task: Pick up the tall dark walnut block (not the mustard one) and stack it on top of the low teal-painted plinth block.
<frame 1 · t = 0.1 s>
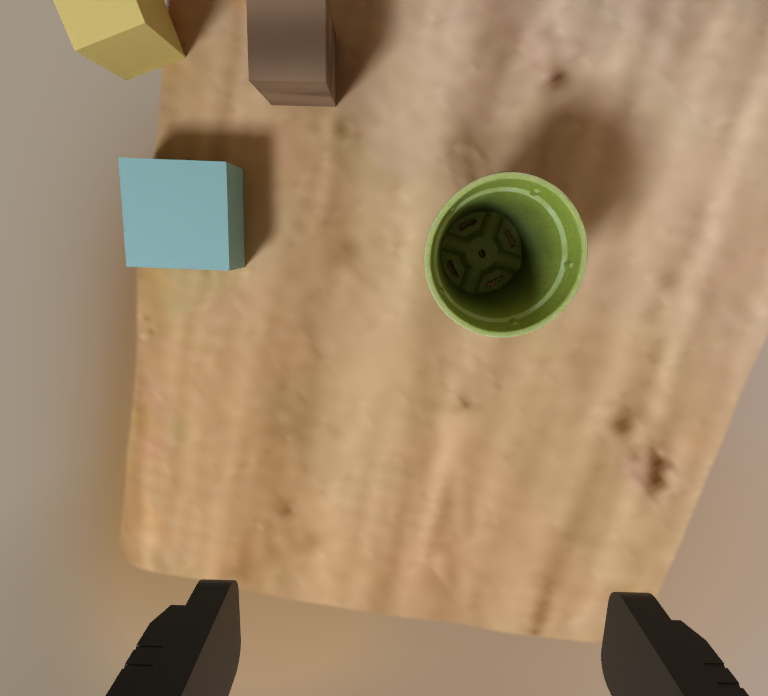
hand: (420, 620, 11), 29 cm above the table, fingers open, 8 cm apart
walnut block: (303, 70, 35), on the table
plant pot: (479, 251, 38), on the table
teal plinth block: (197, 217, 38), on the table
mustard block: (142, 34, 35), on the table
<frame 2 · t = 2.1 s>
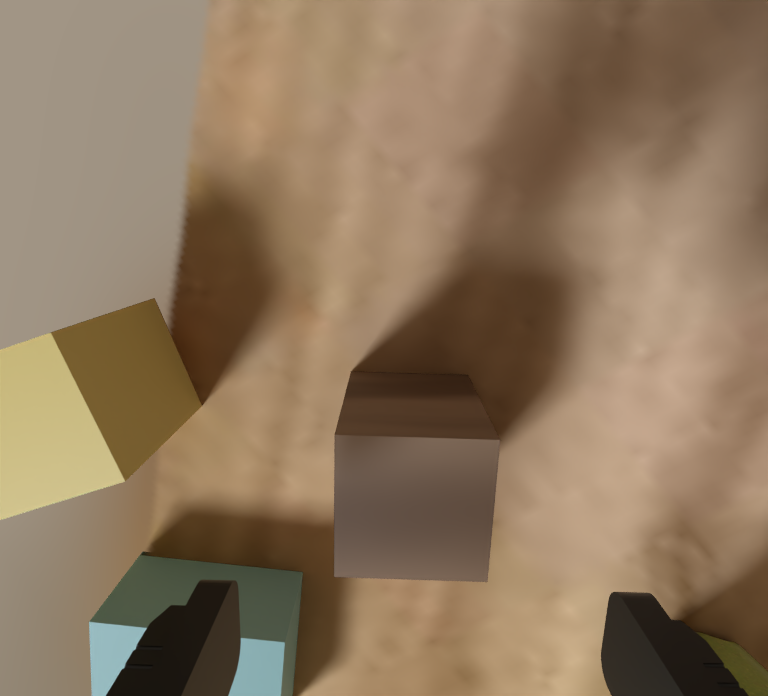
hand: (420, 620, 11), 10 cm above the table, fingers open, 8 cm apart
walnut block: (407, 427, 20), on the table
plant pot: (682, 680, 23), on the table
teal plinth block: (220, 627, 23), on the table
mustard block: (126, 370, 20), on the table
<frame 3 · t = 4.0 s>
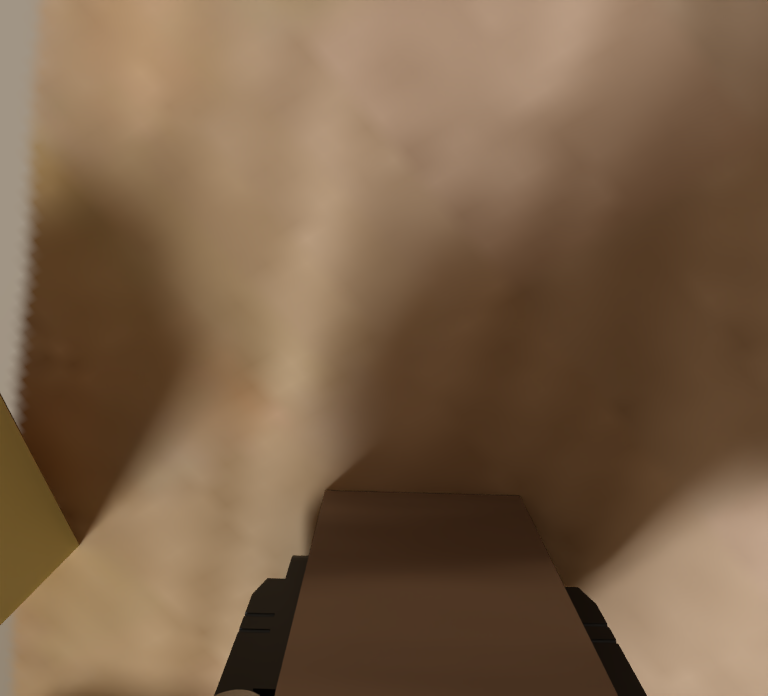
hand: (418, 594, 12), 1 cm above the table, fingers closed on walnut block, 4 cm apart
walnut block: (418, 578, 12), on the table, touching gripper
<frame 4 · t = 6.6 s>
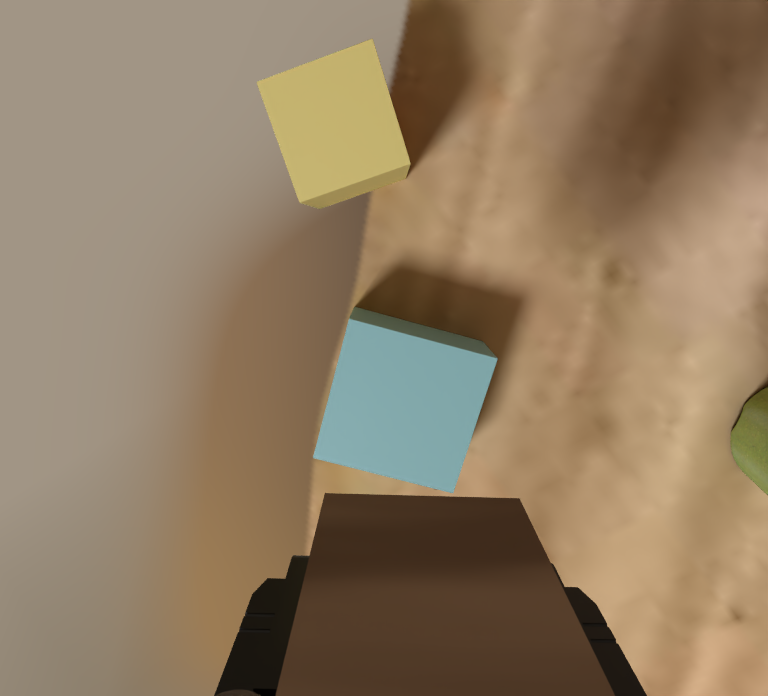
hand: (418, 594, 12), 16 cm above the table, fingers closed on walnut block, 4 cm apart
walnut block: (418, 580, 12), point 16 cm above the table, touching gripper
teal plinth block: (401, 384, 28), on the table
mustard block: (347, 148, 25), on the table
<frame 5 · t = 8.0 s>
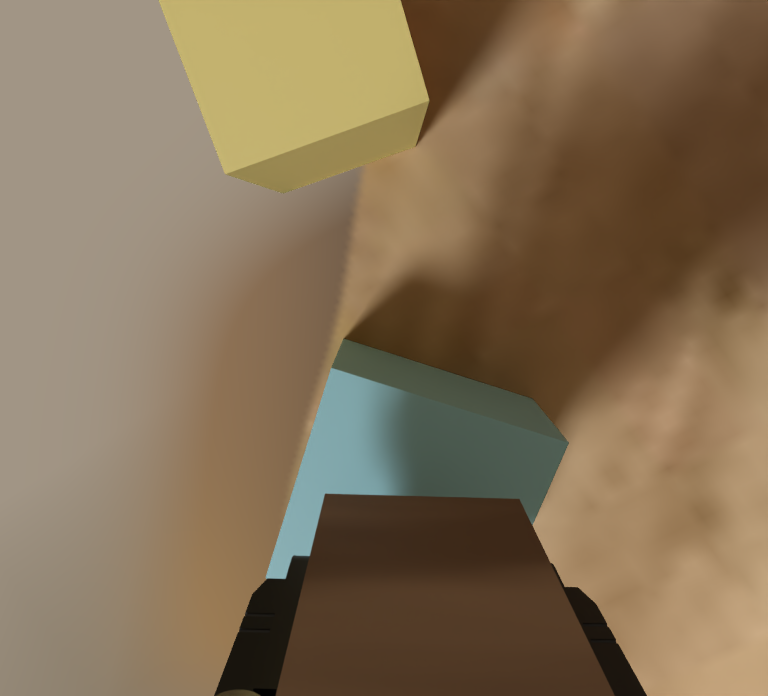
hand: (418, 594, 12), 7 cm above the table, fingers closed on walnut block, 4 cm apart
walnut block: (418, 580, 12), point 6 cm above the table, touching gripper
teal plinth block: (407, 454, 19), on the table
mustard block: (324, 98, 16), on the table
when the fingers open (5 cm above the table, at t = 9.2 s): walnut block drops 1 cm, resting on teal plinth block.
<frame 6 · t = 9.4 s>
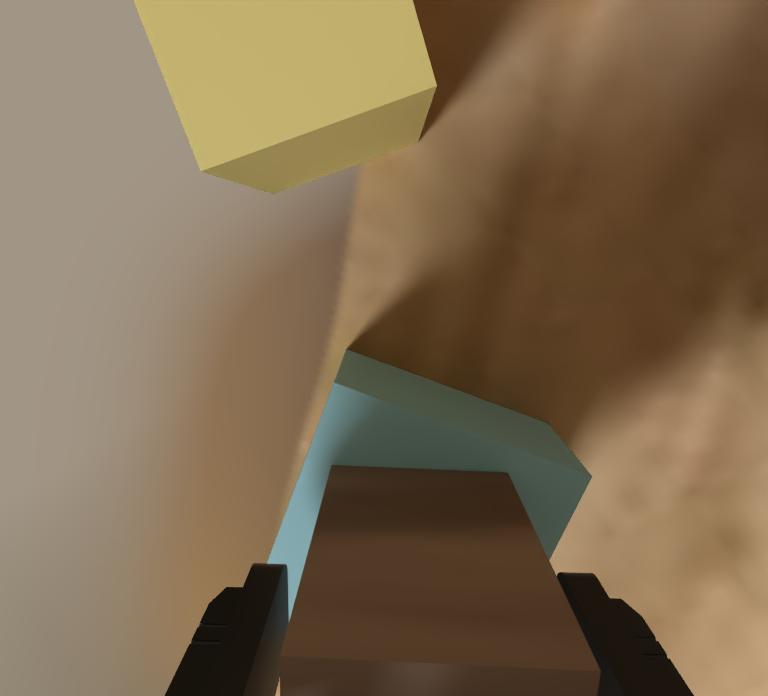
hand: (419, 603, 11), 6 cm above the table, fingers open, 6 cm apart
walnut block: (415, 546, 14), point 4 cm above the table, touching teal plinth block
teal plinth block: (408, 475, 17), on the table, touching walnut block
mustard block: (318, 89, 14), on the table
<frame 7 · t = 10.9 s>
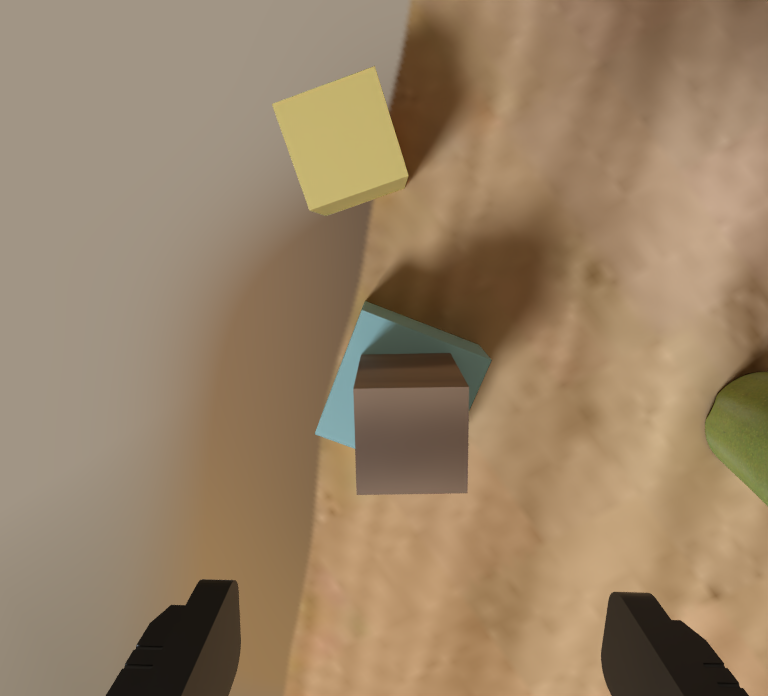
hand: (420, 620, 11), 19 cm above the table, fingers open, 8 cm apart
walnut block: (406, 396, 26), point 4 cm above the table, touching teal plinth block
plant pot: (751, 418, 30), on the table
teal plinth block: (399, 376, 30), on the table, touching walnut block
mustard block: (351, 161, 27), on the table
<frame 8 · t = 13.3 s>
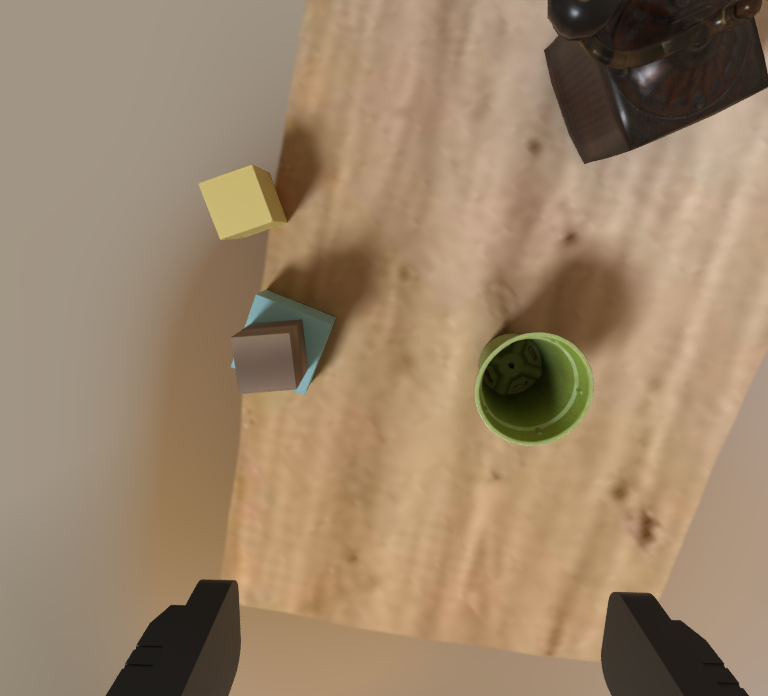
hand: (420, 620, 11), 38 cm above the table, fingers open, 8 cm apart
walnut block: (280, 346, 45), point 4 cm above the table, touching teal plinth block
plant pot: (509, 362, 49), on the table
dark brown ornament: (589, 93, 44), on the table
teal plinth block: (289, 336, 49), on the table, touching walnut block
mustard block: (255, 206, 46), on the table
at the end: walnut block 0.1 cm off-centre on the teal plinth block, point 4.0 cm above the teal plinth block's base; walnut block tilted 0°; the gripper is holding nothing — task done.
